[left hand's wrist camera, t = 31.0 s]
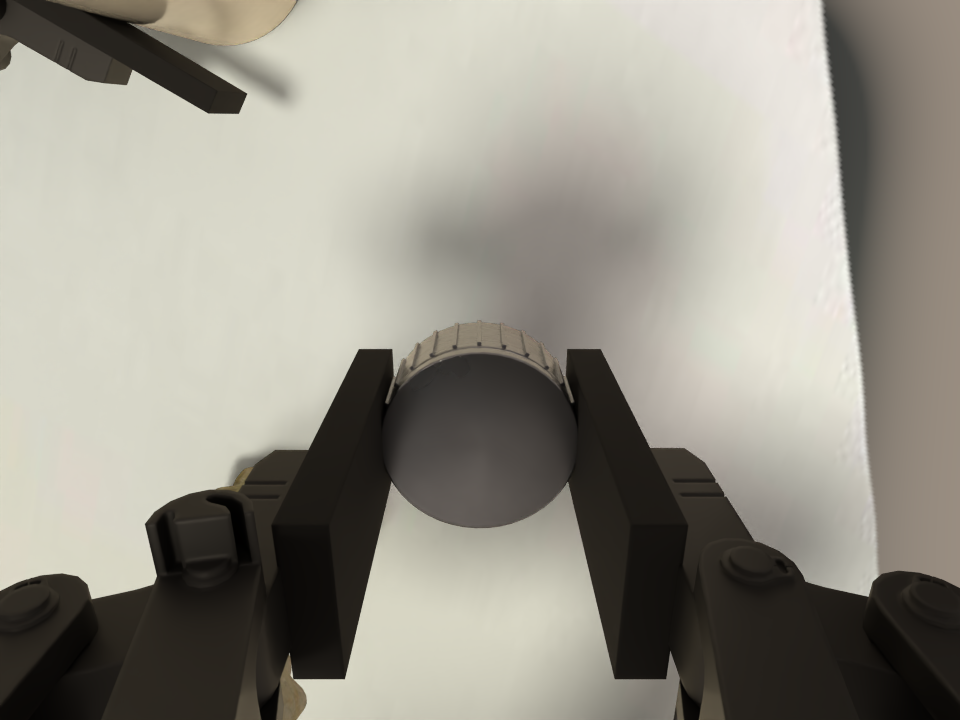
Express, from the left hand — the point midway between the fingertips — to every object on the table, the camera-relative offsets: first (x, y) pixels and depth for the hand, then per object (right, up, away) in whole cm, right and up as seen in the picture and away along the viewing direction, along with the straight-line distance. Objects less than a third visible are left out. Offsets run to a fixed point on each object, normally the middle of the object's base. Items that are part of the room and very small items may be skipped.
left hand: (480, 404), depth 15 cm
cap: (0, -1, -2) cm, 2 cm away
